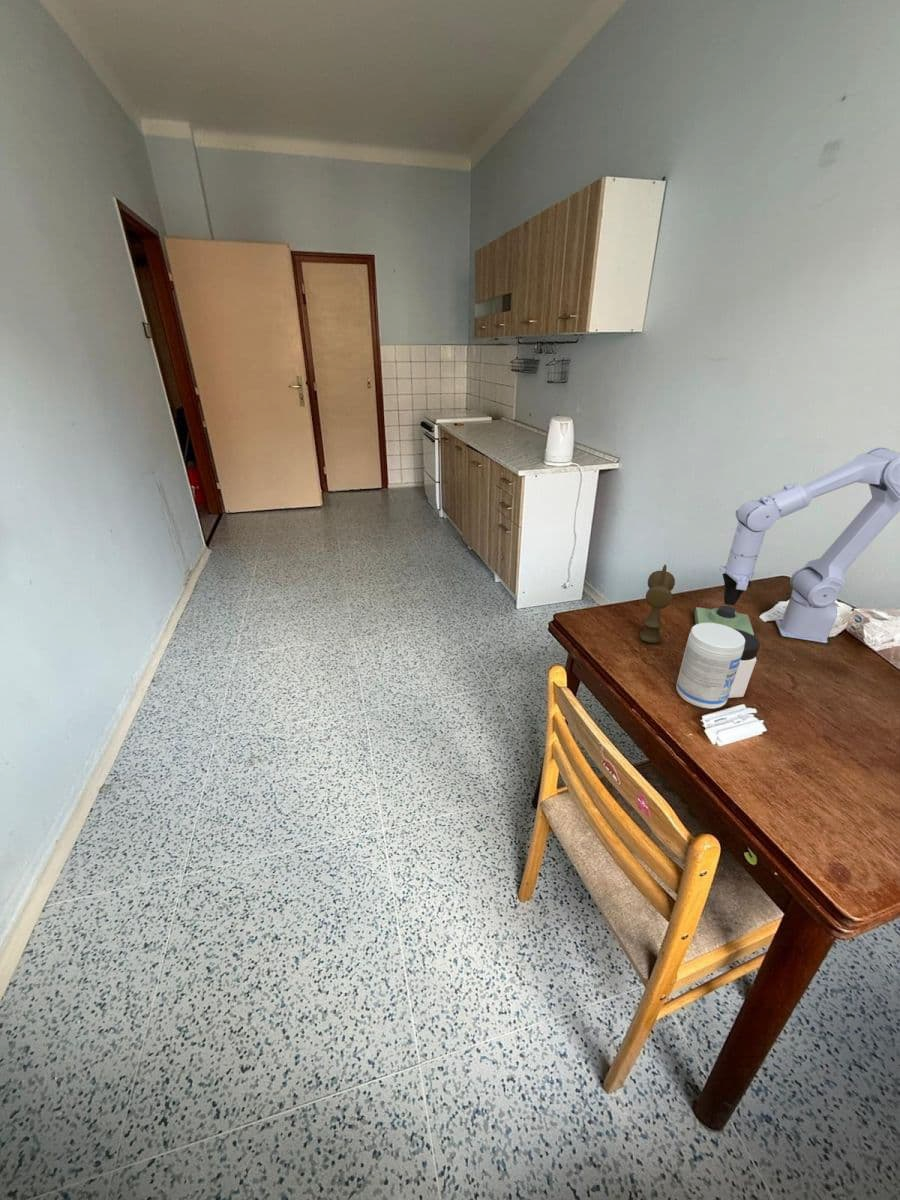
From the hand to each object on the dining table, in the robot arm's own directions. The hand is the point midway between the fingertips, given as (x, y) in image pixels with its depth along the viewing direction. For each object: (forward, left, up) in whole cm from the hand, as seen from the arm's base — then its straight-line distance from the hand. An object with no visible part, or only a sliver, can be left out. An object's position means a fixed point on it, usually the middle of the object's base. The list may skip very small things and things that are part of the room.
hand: (729, 603), depth 116 cm
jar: (+3, +26, -7) cm, 27 cm away
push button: (0, 0, -3) cm, 3 cm away
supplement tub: (+7, +31, -7) cm, 32 cm away
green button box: (0, 0, -7) cm, 7 cm away
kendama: (+17, +12, -7) cm, 22 cm away
